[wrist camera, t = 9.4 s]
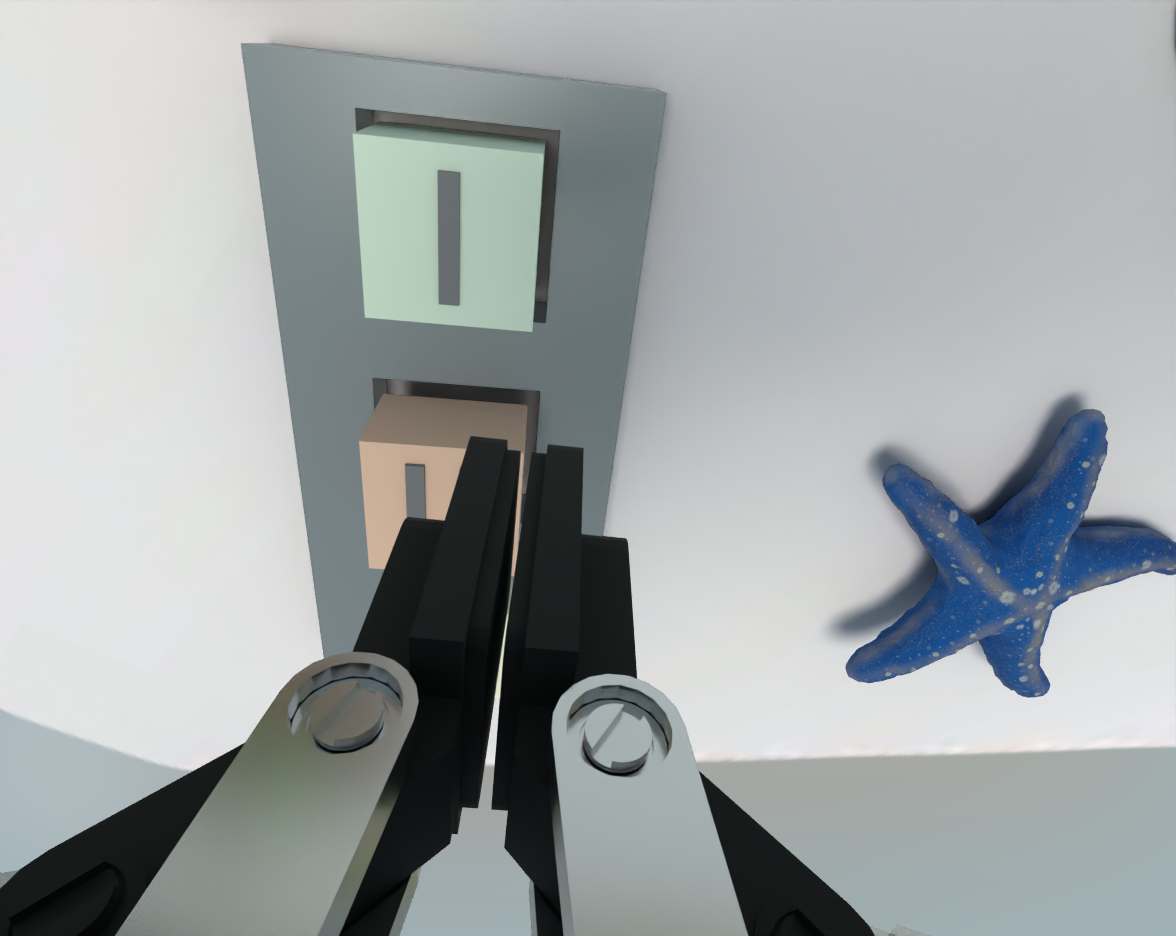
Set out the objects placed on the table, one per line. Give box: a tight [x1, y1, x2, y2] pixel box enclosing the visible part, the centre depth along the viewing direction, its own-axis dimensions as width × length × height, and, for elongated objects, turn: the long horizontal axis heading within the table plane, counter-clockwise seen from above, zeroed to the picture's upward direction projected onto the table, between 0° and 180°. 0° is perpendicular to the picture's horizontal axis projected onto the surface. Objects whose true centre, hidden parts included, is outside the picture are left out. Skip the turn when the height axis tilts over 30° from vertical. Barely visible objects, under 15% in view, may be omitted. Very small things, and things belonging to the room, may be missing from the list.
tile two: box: [359, 394, 528, 576], centre depth 28 cm, size 6×6×4 cm
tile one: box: [353, 121, 546, 332], centre depth 25 cm, size 6×6×4 cm
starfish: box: [846, 409, 1176, 697], centre depth 36 cm, size 19×19×5 cm
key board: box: [241, 43, 666, 659], centre depth 32 cm, size 14×30×2 cm, turn 174°
